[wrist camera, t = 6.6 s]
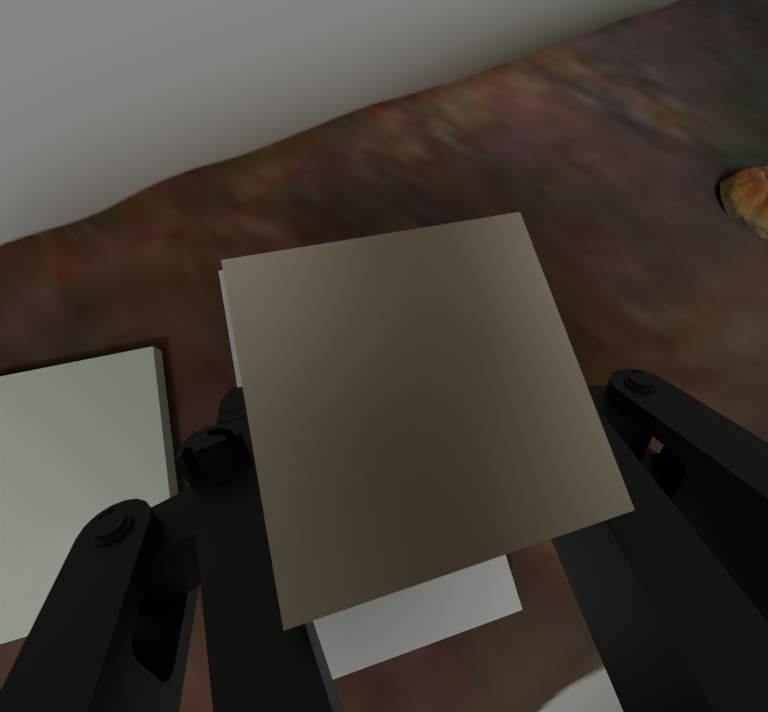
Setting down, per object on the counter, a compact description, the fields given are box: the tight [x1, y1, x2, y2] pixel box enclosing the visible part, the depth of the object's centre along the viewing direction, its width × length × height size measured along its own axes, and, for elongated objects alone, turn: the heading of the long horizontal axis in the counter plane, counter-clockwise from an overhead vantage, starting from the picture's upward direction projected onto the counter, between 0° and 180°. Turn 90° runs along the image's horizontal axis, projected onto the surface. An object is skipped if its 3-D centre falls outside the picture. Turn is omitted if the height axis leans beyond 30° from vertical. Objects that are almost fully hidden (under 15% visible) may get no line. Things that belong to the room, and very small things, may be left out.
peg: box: [221, 212, 634, 631], centre depth 12 cm, size 5×5×14 cm
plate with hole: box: [219, 270, 522, 679], centre depth 20 cm, size 12×22×2 cm, turn 15°
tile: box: [0, 346, 178, 644], centre depth 18 cm, size 13×13×1 cm
